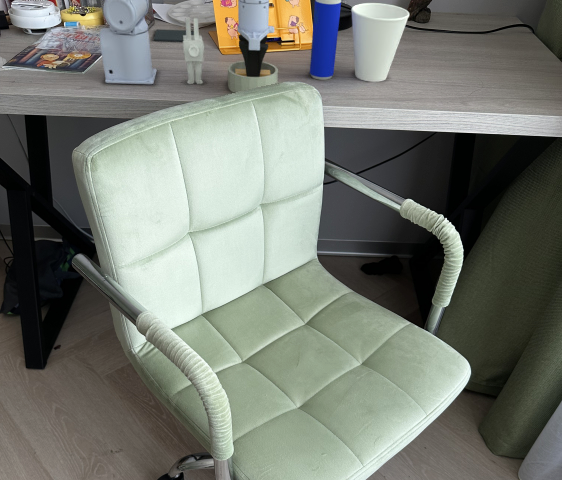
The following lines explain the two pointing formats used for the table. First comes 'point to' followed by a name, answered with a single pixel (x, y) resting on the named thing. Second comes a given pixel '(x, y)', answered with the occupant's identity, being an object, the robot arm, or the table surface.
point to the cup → (376, 38)
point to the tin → (245, 82)
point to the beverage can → (324, 38)
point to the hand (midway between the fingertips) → (252, 78)
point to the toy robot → (193, 52)
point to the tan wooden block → (243, 73)
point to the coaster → (170, 35)
